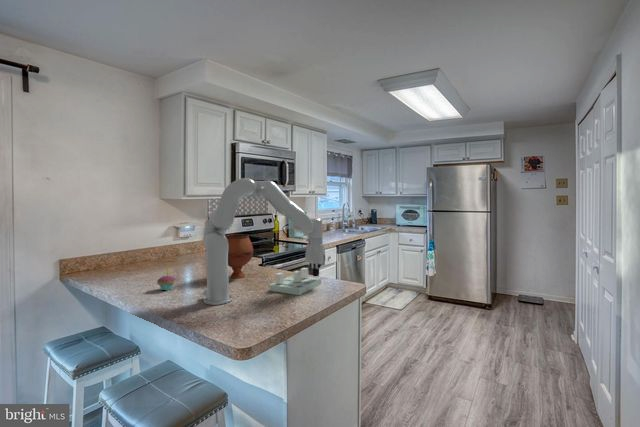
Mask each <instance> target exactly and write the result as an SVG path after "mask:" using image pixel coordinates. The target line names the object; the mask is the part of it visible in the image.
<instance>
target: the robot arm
mask: <svg viewBox="0 0 640 427" xmlns="http://www.w3.org/2000/svg"><path fill="white" fill-rule="evenodd" d="M245 197H246V198H248V197H249V198H265V200H266V201H267V202H268V203H269V204H270V205H271V206H272V207H273V208H274V209H275V211H276V212H278V213H279V215H281V216H284V217H286V218H287V219H288V220H290V221H292V225H291V226H292V230H293V231H295V232H296V233H299V234H304V235H307V238H306V241H305V242H307V244H306V247H305V257H304V258H305V260H304V261H305V263H306V265H309V266H310V267H311V269H312V277H314V278H317V277H319V276H320V268H321V267H324V266H326V250H325V246H324V245H325V244H324V243H323V242H324V241H323V220H322V219H321V218H319V217H311V218H310V217H309V216H308V215H307V213H306V212H305V211H304V210H303V209H302V208H300V206H298V205H297V204H296V203H294V202H293V201H292V200H290V198H289V197H288V196H287V195H286V194H285V192H283V191H282V189H281V188H280V187H279V186H278V185H277V184H276V182H274V181H272V180H267V179H266V180H254V179H251V178H250V177H244V178H243V177H241V178H238V179H236V180H234V181H232V182H231V183H229V184H228V185H227V186H226V187H225V189H224V190H223V191H222V193H221V196H220V199H219V202H218V204H217V208H216V209H215V210H213V211H212V212H211V214H210V215H209V218H208V219H207V220H208V221H207V223H206V227H205V230H204V233H203V237H202V244H203V246H204V248H205V249H206V252H205V253H206V256H205V257H206V260H205V261H206V262H205V265H206V266H205V267H206V289H204V291H202V295H204V296H205V298H204V299H203V303H204V305H209V306H217V305H218V306H219V305H224V304H228V303H230V302H232V301H233V296H232V295H230V288H229V286H230V285H229V282H230V280H229V279H230V278H229V266H228V248H229V244H228V240H227V238H226V237H225V236H226V232H227V231H228V230H230V228H231V227H233V224H234V220H235V217H236V213H237V211H238V210H237V209H238V207H239V204H240V202H241V200H242V199H244V198H245Z"/></svg>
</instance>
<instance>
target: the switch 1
mask: <svg viewBox="0 0 640 427" xmlns="http://www.w3.org/2000/svg"><path fill="white" fill-rule="evenodd" d="M284 274H285V273H284V272H278V273H275V282H276V284H282V283H284V277H285V276H284Z"/></svg>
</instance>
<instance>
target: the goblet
mask: <svg viewBox="0 0 640 427" xmlns="http://www.w3.org/2000/svg"><path fill="white" fill-rule="evenodd" d="M225 237H226V238H227V240H228V244H229V248H228V267H230V268H231V271H233V272H232V273H231V274H230V278H229V279H234V280H236V279H237V280H238V279H243V278H245V277H246V275H245V273H244V272H243V270H242V269H243V267H244V266H245V265H247V264H248V263H249V262H250V261H251V260H252V258H253V256H254V247H253V243H252V241H251V239H250V235H249V234H243V233H241V234H240V233H236V234H235V233H233V234H225Z"/></svg>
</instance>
